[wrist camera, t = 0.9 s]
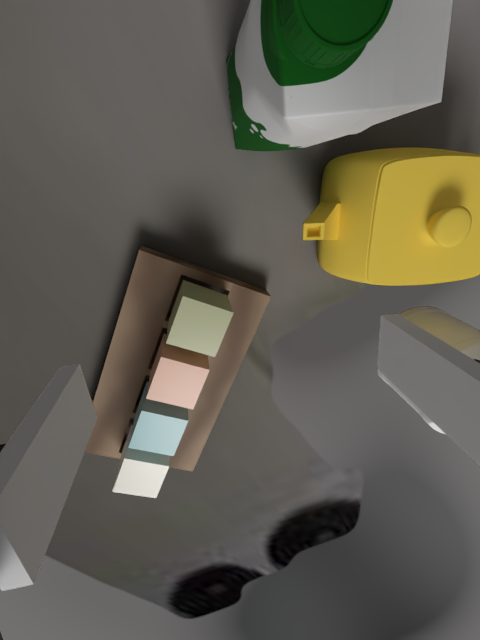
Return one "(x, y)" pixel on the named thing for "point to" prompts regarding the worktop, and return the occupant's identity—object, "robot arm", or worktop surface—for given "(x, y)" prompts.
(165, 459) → the key cream
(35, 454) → the robot arm
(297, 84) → the milk carton
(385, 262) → the teapot
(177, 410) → the key teal
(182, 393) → the key terracotta
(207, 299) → the key olive
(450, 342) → the jar
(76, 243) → the worktop surface
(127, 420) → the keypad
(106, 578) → the worktop surface
